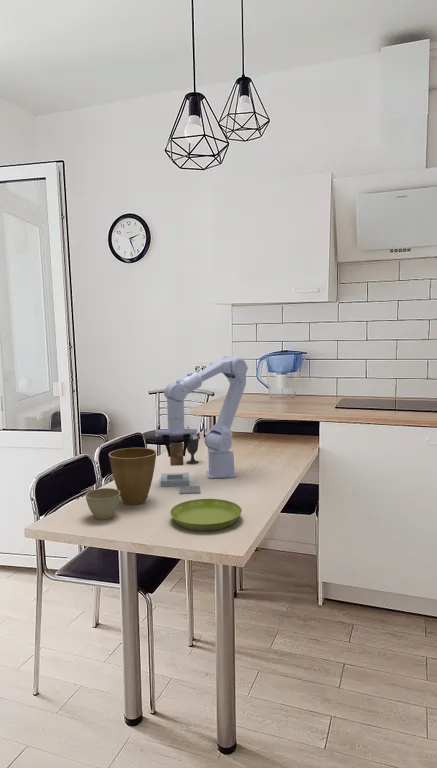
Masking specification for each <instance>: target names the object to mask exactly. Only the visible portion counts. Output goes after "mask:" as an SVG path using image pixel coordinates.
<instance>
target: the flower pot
mask: <svg viewBox="0 0 437 768" xmlns="http://www.w3.org/2000/svg"><path fill="white" fill-rule="evenodd" d="M85 499H86V503H87V506H88V508H89V510H90V512H91V514H92V516H93V517H94V518H95V519H96V520H102V521H103V520H109V519H110V518H112V517H113V516H114V515H115V512H116V510H117V508H118V505H119V501H120V499H121V497H120V491H119V490H118V489H117V488H111V487H109V488H108V487H104V488H103V487H102V488H96V489H92V490H89V491H87V492H86V493H85Z"/></svg>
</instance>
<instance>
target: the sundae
mask: <svg viewBox="0 0 437 768" xmlns="http://www.w3.org/2000/svg"><path fill="white" fill-rule="evenodd" d="M186 429H191V428H190V427H189V426H186ZM200 440H201V437H200V432H197V435H196V436H194V435H190V440H189V443H188V445H187V448H186V451H187V452H188V453H189V455H190V459H189V460H188V461H186V465H187V464H188V465H196V464H199V462H200V461H198V460H196V459H195V454H196V453H197V452H198V450H199V441H200Z"/></svg>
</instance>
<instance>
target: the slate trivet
mask: <svg viewBox="0 0 437 768" xmlns="http://www.w3.org/2000/svg"><path fill="white" fill-rule="evenodd" d="M178 487H179V490H178V491H179V495H189V494H190V495H191V494H192V495H193V494H201V492H202V491H201V486H200V485H189V486H178Z"/></svg>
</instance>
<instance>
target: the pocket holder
mask: <svg viewBox="0 0 437 768" xmlns="http://www.w3.org/2000/svg"><path fill="white" fill-rule="evenodd" d="M189 473H190V472H166V473H165V472H164V473H160V487H181V486H190V474H189Z"/></svg>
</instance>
